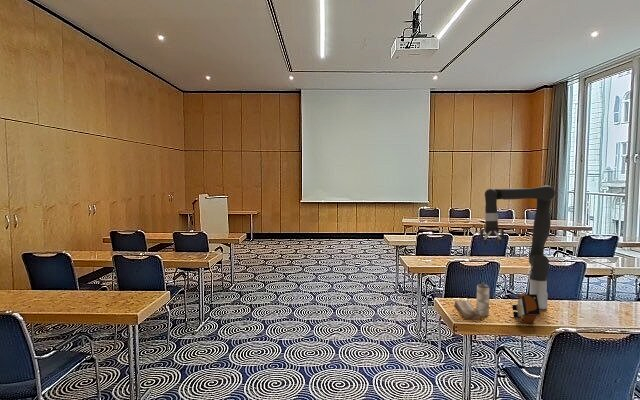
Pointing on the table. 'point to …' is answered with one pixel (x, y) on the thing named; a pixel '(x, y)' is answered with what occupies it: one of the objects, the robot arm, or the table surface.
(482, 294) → the pale block with peg
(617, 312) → the table surface
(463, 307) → the walnut board
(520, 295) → the toy
